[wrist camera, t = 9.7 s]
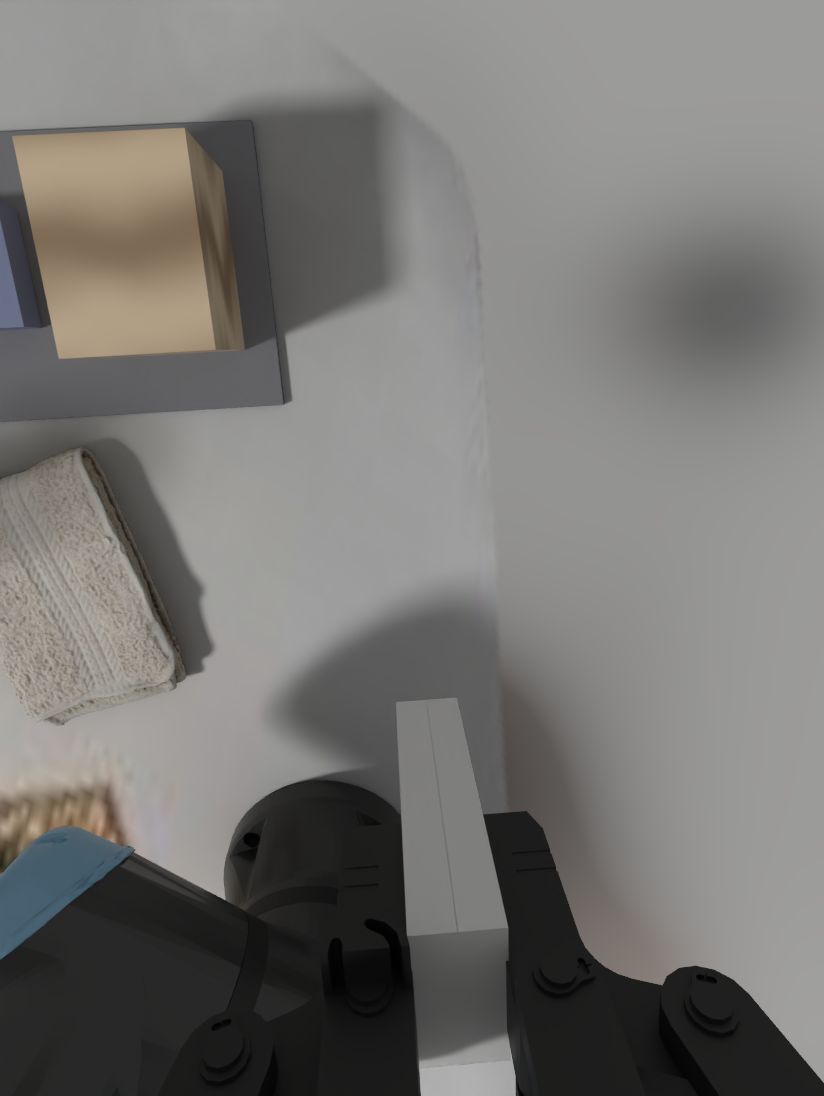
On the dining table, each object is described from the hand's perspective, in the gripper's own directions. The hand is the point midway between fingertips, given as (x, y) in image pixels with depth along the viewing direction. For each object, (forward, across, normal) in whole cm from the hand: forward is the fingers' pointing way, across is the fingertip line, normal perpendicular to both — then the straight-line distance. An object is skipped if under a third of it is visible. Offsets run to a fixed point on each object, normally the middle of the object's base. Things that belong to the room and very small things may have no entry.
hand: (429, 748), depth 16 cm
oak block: (+29, +13, -15) cm, 35 cm away
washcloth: (+30, +23, +5) cm, 38 cm away
